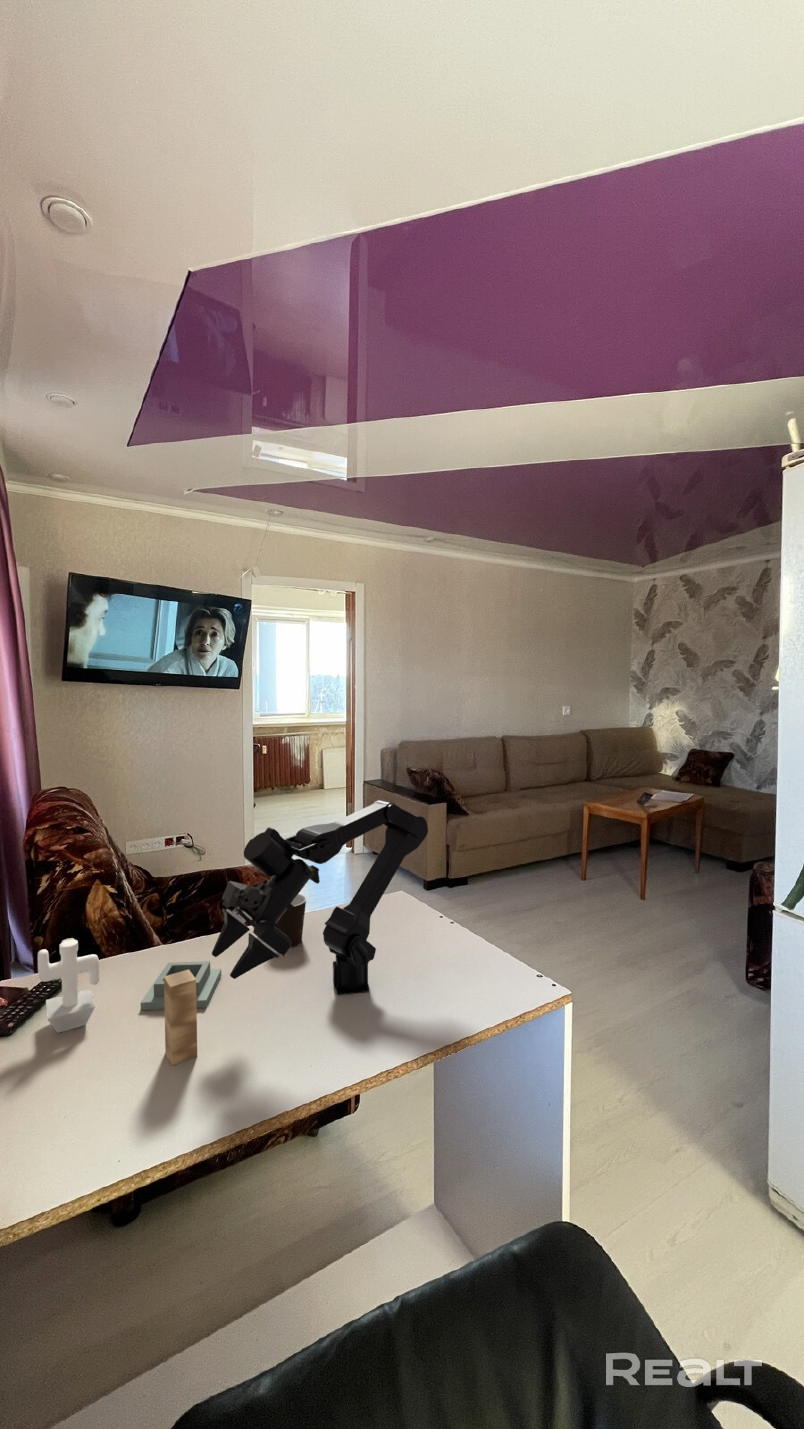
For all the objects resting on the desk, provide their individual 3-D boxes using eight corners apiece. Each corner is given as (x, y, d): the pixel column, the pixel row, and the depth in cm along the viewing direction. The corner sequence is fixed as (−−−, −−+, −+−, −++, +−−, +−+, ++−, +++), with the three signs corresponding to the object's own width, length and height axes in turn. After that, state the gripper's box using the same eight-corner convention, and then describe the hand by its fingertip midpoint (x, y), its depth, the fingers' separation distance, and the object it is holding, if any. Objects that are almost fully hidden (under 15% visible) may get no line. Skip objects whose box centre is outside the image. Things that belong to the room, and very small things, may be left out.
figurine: (102, 1024, 103) (100, 942, 102) (40, 1042, 97) (37, 956, 97) (98, 1005, 109) (96, 928, 108) (39, 1021, 103) (36, 940, 103)
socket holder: (221, 975, 120) (221, 956, 120) (206, 1007, 108) (206, 987, 108) (162, 977, 119) (162, 958, 119) (140, 1010, 107) (140, 989, 107)
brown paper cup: (298, 951, 131) (298, 908, 130) (263, 947, 132) (262, 905, 132) (316, 929, 142) (315, 890, 142) (283, 926, 144) (283, 887, 143)
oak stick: (190, 1043, 97) (188, 969, 97) (197, 1056, 94) (196, 979, 93) (165, 1052, 95) (163, 976, 94) (172, 1065, 92) (170, 986, 91)
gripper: (232, 851, 108) (172, 923, 102) (273, 879, 93) (205, 965, 87) (272, 884, 113) (216, 954, 107) (317, 915, 98) (255, 998, 92)
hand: (222, 966), depth 98 cm, fingers open, 9 cm apart
